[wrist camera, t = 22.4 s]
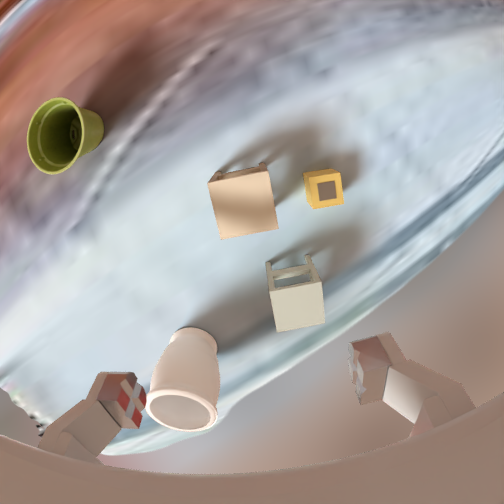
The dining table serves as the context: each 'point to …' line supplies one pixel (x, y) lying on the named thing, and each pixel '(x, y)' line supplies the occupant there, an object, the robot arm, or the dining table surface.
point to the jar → (186, 382)
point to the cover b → (296, 297)
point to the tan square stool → (243, 202)
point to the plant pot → (62, 134)
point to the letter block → (323, 188)
